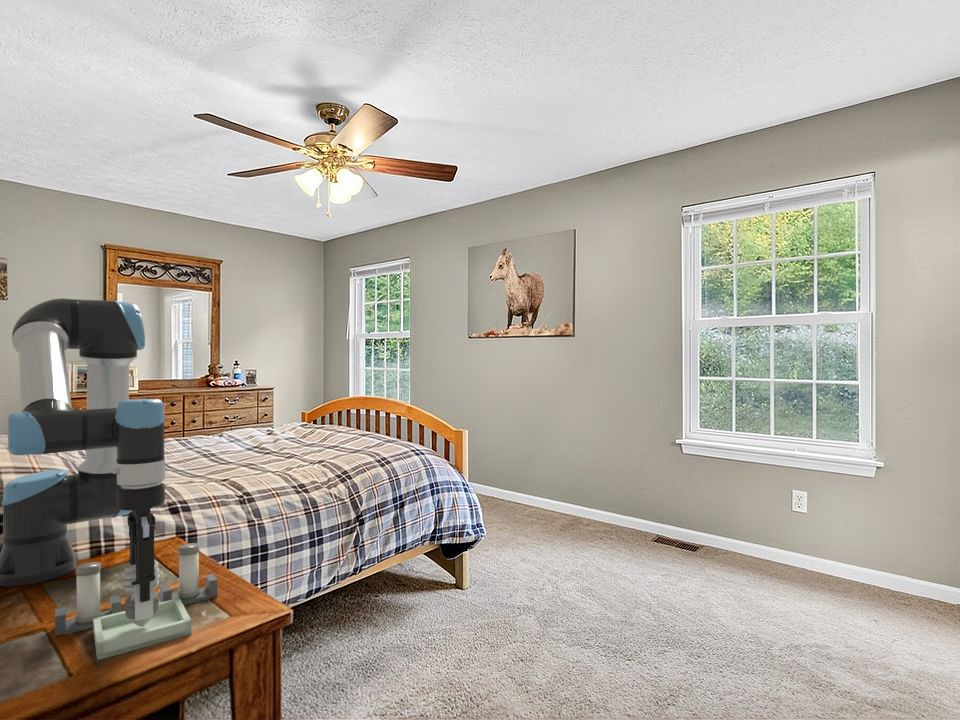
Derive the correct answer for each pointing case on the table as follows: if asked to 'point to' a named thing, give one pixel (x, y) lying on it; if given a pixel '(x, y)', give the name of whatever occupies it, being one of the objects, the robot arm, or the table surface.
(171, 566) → the table surface
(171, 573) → the table surface
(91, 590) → the fuse
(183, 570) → the grey capped cylinder
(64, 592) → the table surface
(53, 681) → the table surface
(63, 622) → the clip block
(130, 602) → the light bulb
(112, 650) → the tray
